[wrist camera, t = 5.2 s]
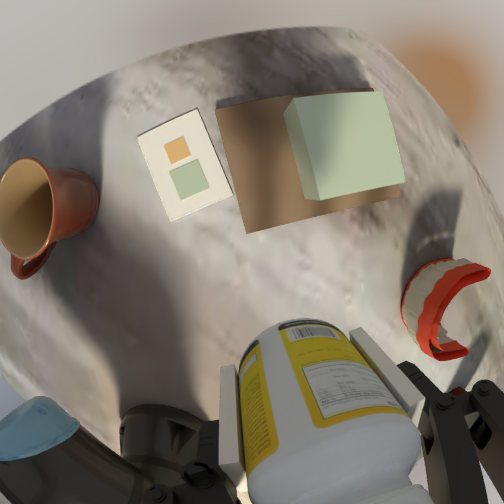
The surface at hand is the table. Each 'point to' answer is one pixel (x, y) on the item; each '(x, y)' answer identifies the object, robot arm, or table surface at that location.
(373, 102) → the brick
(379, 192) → the plate
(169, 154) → the page
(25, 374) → the table surface
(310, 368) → the pill bottle
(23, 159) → the mug
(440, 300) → the denture model
